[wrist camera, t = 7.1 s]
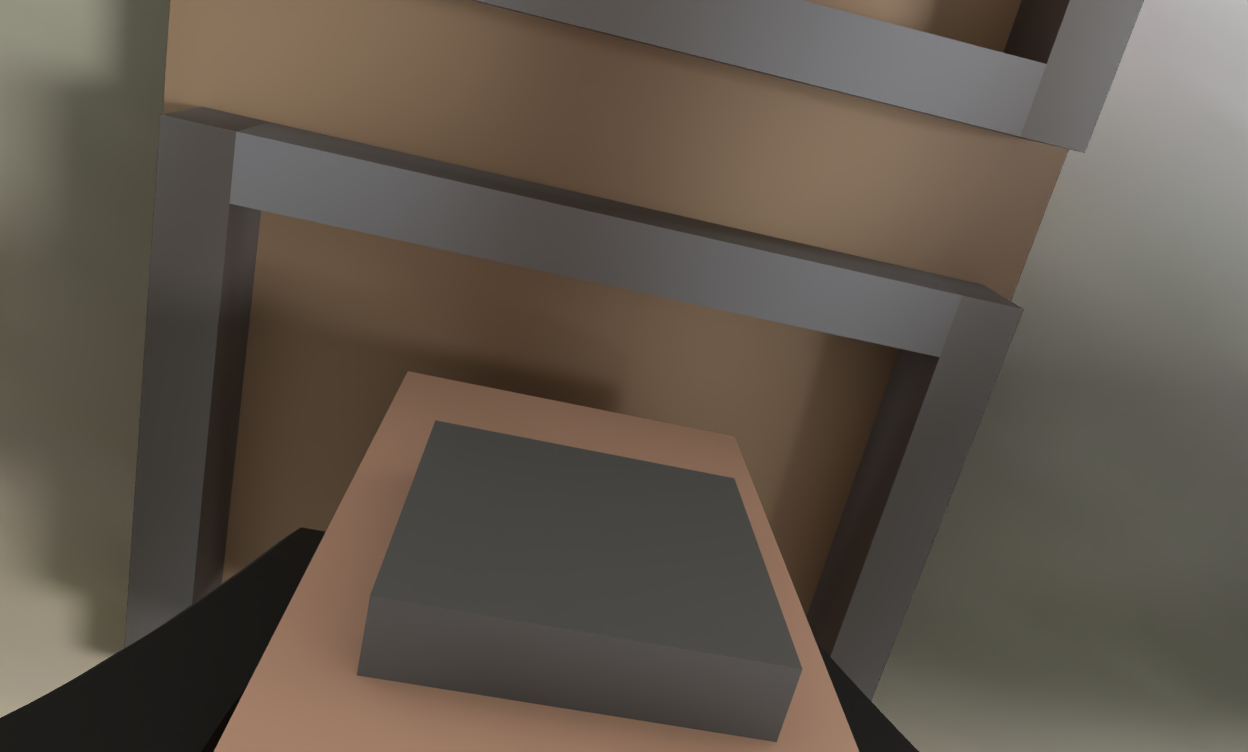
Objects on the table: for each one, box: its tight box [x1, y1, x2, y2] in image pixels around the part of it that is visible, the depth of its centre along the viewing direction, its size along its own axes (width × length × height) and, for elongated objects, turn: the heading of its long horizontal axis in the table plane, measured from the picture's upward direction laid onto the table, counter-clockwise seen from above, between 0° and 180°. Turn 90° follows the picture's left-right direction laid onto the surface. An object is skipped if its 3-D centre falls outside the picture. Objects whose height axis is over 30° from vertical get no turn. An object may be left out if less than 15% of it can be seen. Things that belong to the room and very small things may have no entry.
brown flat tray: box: [124, 0, 1144, 701], centre depth 10 cm, size 11×20×4 cm, turn 167°
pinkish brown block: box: [214, 371, 859, 752], centre depth 8 cm, size 4×5×7 cm
